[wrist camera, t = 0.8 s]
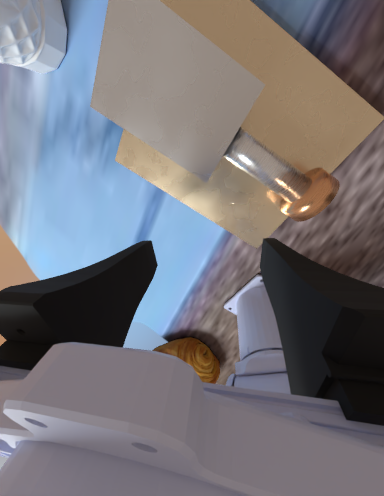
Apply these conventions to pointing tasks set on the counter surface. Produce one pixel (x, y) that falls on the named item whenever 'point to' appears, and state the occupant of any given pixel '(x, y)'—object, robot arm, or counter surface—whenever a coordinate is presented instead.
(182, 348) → the croissant
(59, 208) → the counter surface
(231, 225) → the bearing block
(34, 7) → the white cup
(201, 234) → the counter surface
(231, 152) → the shaft
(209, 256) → the counter surface
